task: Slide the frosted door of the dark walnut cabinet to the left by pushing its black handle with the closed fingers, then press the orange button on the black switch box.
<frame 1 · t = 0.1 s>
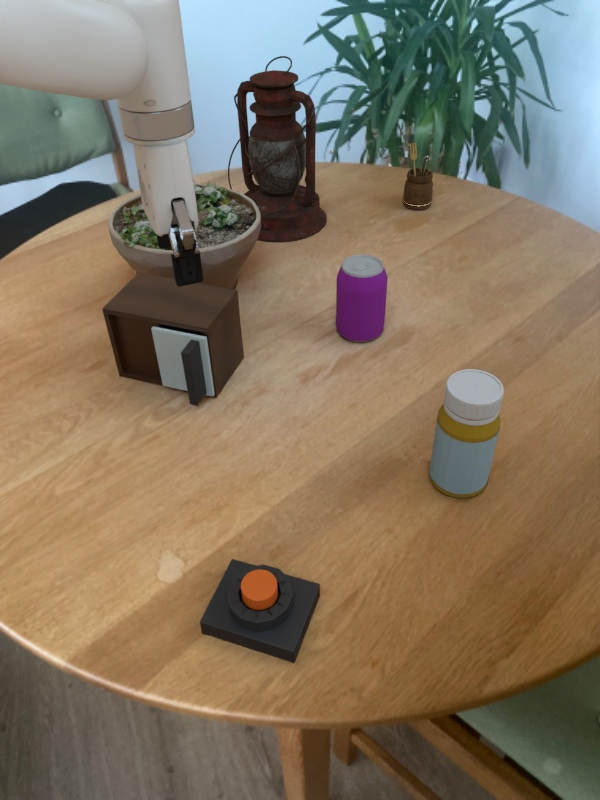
hand: (180, 263, 82), 22 cm above the table, tool pointing down, fingers open, 9 cm apart
beverage can: (359, 332, 108), on the table
bottle: (457, 480, 83), on the table
lantern: (280, 221, 138), on the table
button: (259, 589, 67), point 4 cm above the table, slide at 0.1 cm
utensil holder: (416, 205, 142), on the table
cabinet: (182, 366, 102), on the table
door: (178, 368, 92), point 6 cm above the table, slide at 0.0 cm
switch box: (262, 614, 70), on the table
planter: (193, 285, 120), on the table
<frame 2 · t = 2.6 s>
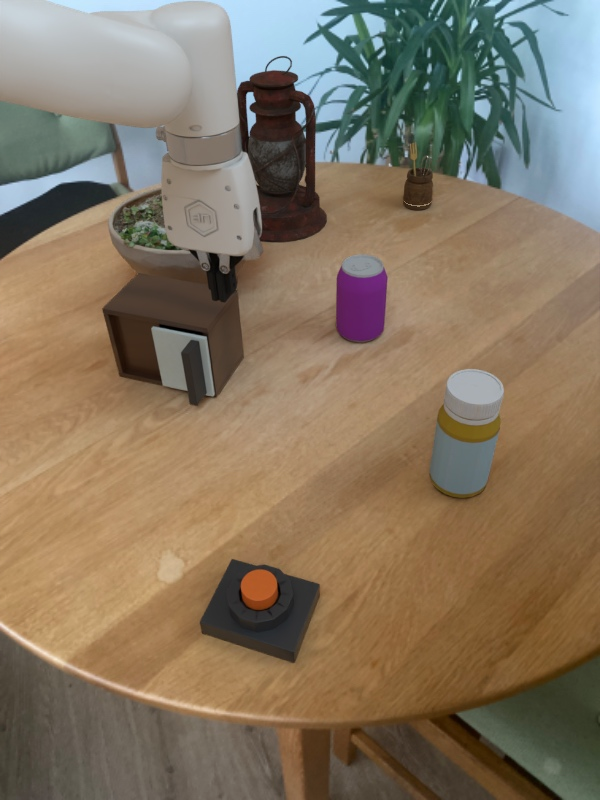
hand: (223, 295, 81), 19 cm above the table, tool pointing down, fingers closed
nothing on the table moved.
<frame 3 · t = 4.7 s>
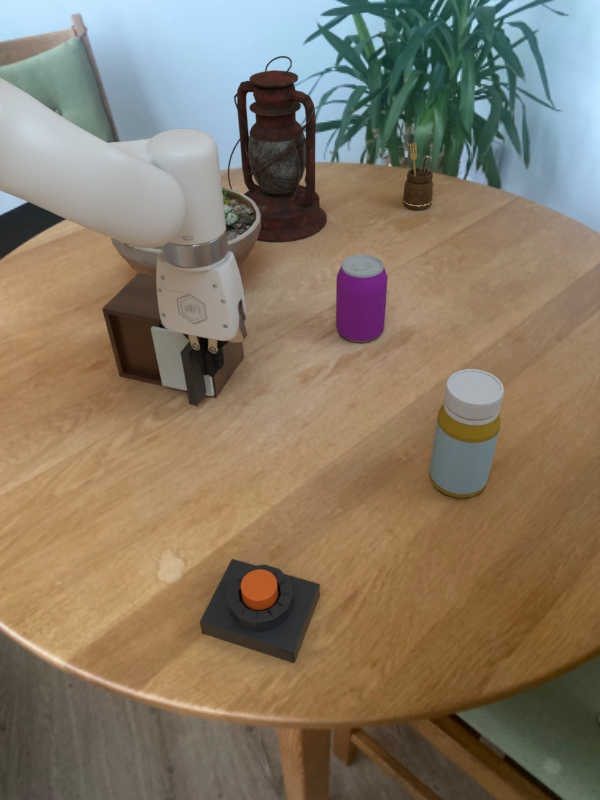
hand: (212, 369, 89), 7 cm above the table, tool pointing down, fingers closed
door: (178, 368, 92), point 6 cm above the table, slide at 0.1 cm, touching gripper
everything else where it was.
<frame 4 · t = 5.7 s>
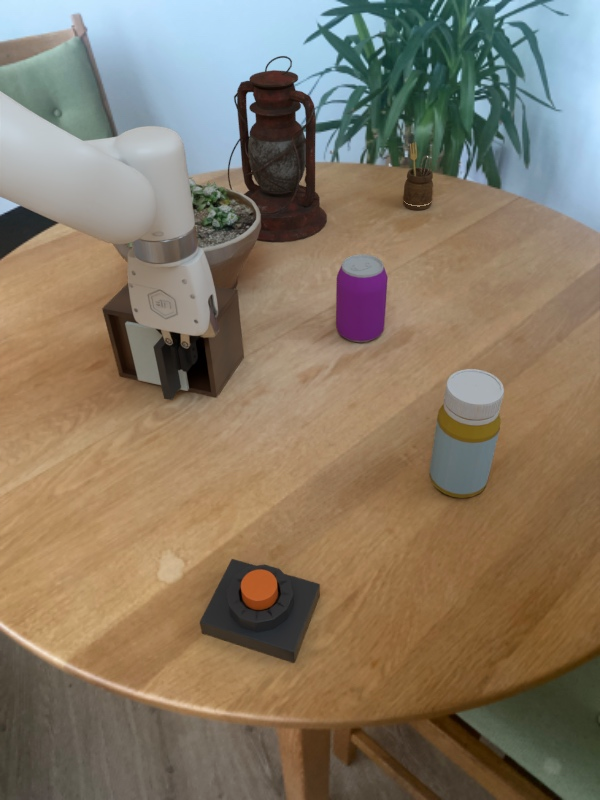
hand: (186, 364, 90), 7 cm above the table, tool pointing down, fingers closed
door: (152, 363, 93), point 6 cm above the table, slide at 4.0 cm, touching gripper
everything else where it was.
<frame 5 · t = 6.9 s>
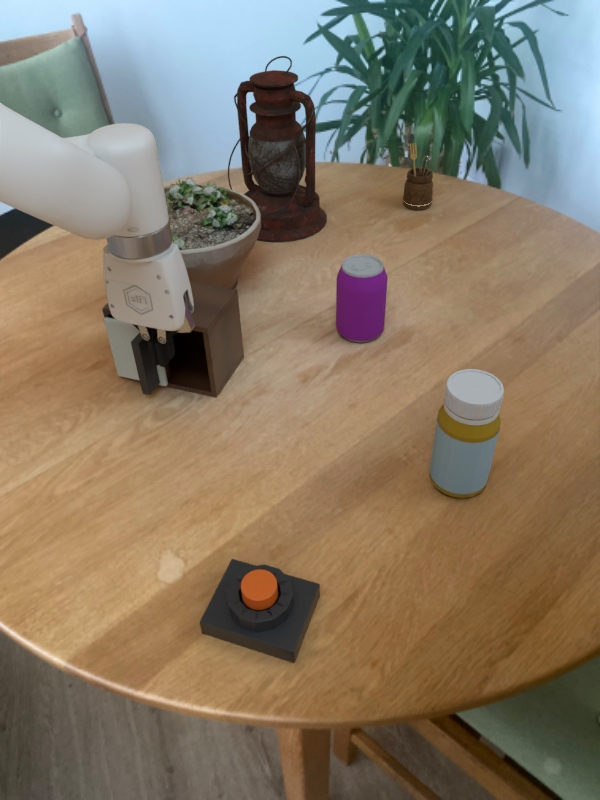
hand: (164, 360, 91), 7 cm above the table, tool pointing down, fingers closed
door: (131, 358, 94), point 6 cm above the table, slide at 7.4 cm, touching gripper
everything else where it was.
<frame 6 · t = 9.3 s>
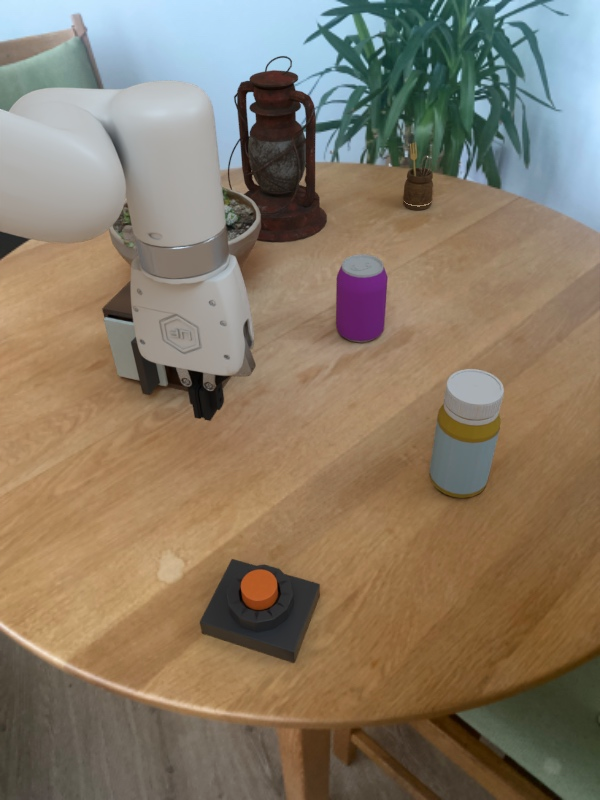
hand: (208, 410, 68), 17 cm above the table, tool pointing down, fingers closed
door: (131, 358, 94), point 6 cm above the table, slide at 7.4 cm
everything else where it was.
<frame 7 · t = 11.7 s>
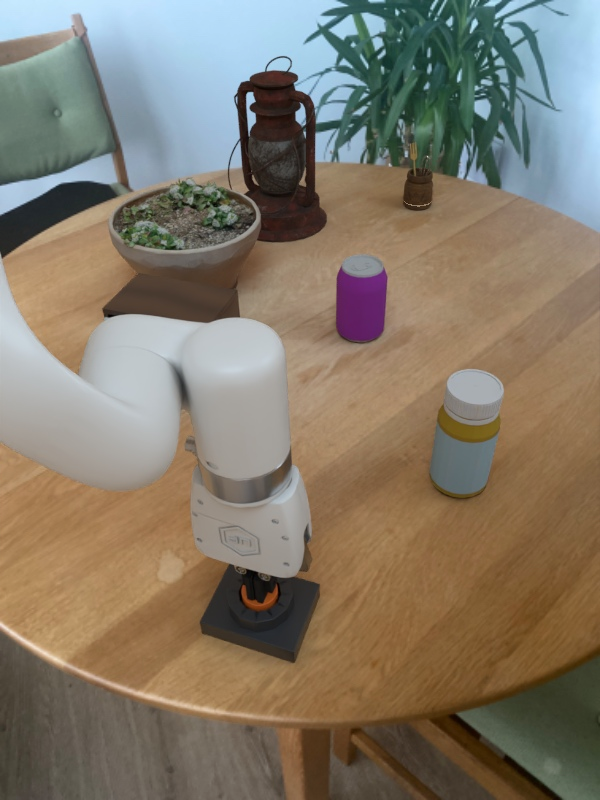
hand: (261, 589, 67), 5 cm above the table, tool pointing down, fingers closed
button: (260, 594, 68), point 4 cm above the table, slide at -0.8 cm, touching gripper
everything else where it was.
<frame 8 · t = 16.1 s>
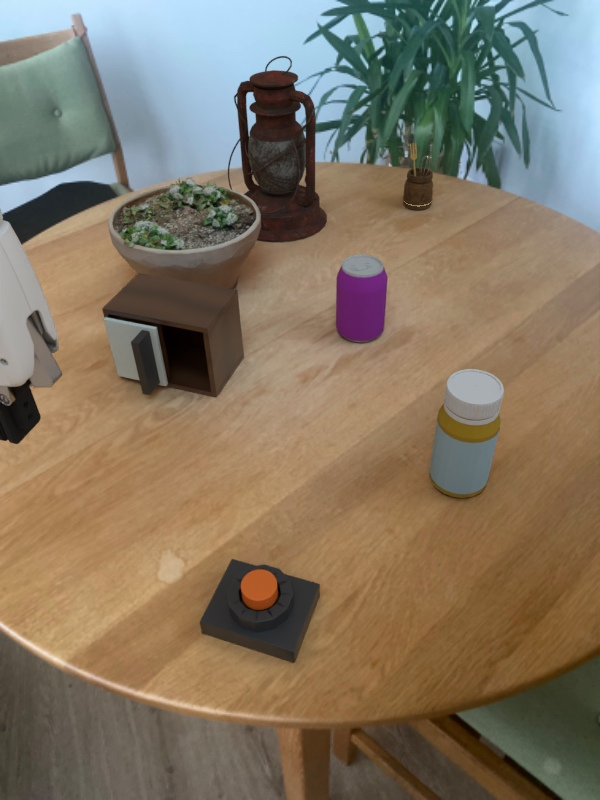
hand: (20, 429, 52), 27 cm above the table, tool pointing down, fingers closed
button: (259, 589, 67), point 4 cm above the table, slide at 0.1 cm
everything else where it was.
at the end: door slide at 7.4 cm; button pushed in 1.1 cm at the most during the clip, back to where it started at the end; button slide at 0.1 cm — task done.
